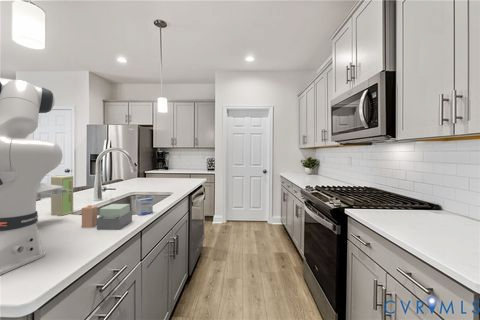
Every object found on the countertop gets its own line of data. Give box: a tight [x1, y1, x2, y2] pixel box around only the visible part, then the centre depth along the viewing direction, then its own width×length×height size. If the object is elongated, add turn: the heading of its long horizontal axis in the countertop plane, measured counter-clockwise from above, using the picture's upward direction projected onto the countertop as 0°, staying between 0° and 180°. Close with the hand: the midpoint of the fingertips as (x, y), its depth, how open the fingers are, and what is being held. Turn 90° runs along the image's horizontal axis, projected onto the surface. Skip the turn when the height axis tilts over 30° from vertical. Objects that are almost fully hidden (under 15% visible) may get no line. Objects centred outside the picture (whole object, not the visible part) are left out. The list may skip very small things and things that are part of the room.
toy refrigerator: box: [50, 175, 74, 217], centre depth 136 cm, size 8×7×21 cm
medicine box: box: [135, 197, 154, 217], centre depth 140 cm, size 8×4×9 cm, turn 143°
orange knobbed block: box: [81, 204, 98, 229], centre depth 115 cm, size 4×4×10 cm
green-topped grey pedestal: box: [96, 203, 133, 231], centre depth 117 cm, size 14×10×9 cm
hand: (60, 193), depth 115 cm, fingers open, 8 cm apart
